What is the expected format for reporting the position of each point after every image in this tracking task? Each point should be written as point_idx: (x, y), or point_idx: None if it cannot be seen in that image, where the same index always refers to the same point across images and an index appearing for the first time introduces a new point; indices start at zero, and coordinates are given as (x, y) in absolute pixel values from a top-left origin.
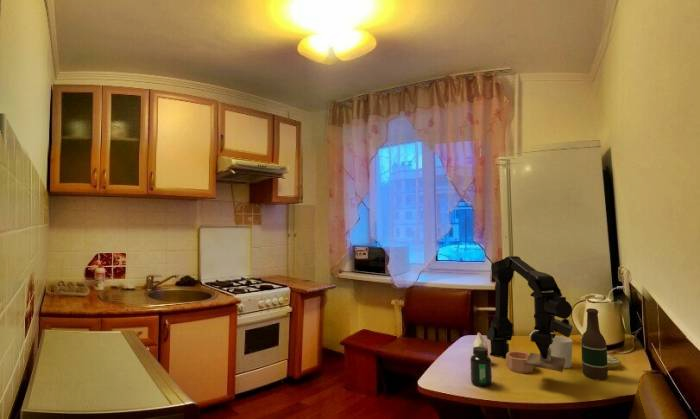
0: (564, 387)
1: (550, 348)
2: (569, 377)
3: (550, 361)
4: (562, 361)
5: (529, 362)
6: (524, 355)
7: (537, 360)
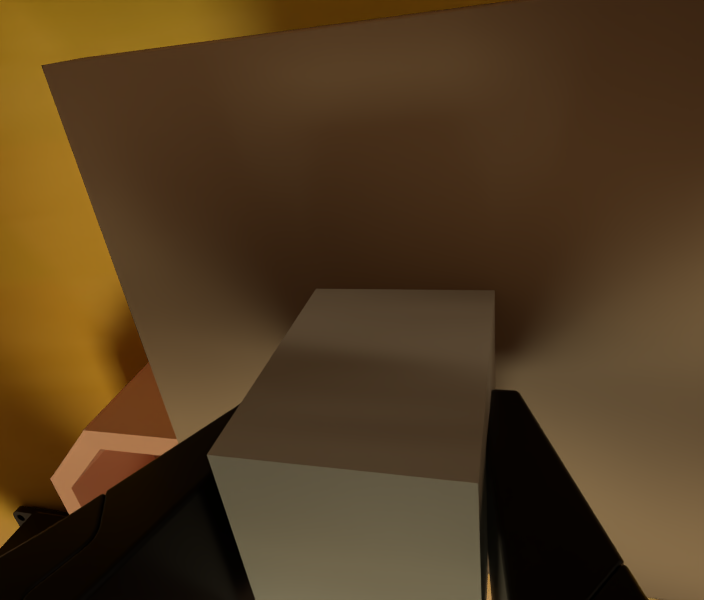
0: (433, 7)
1: (233, 452)
2: (97, 20)
3: (426, 288)
4: (270, 76)
5: (691, 566)
6: (92, 475)
7: None
